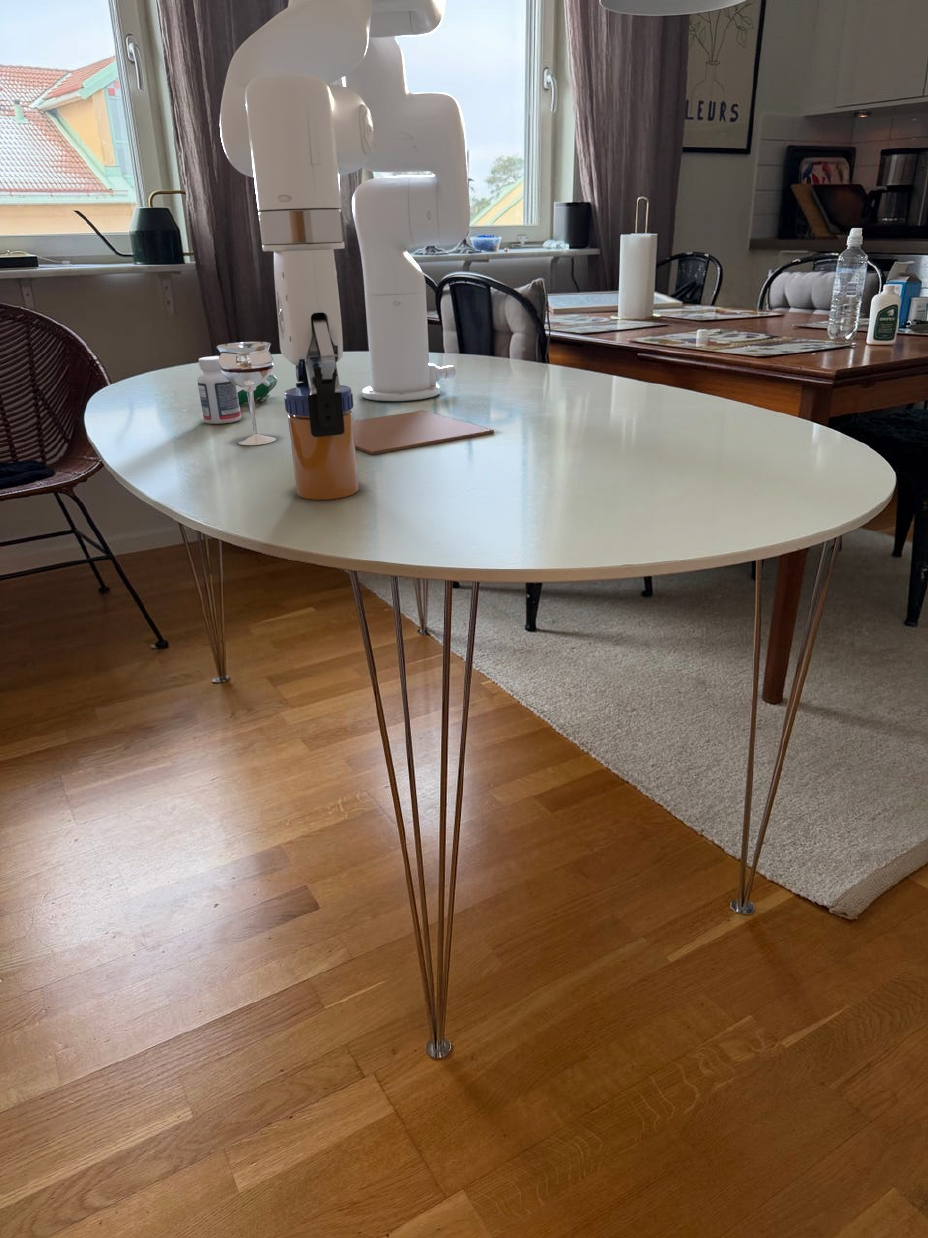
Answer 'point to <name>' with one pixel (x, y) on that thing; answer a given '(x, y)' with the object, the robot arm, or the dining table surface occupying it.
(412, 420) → the mat
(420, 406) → the dining table surface
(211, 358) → the pill bottle
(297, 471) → the jar
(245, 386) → the wineglass
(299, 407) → the lid
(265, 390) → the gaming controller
